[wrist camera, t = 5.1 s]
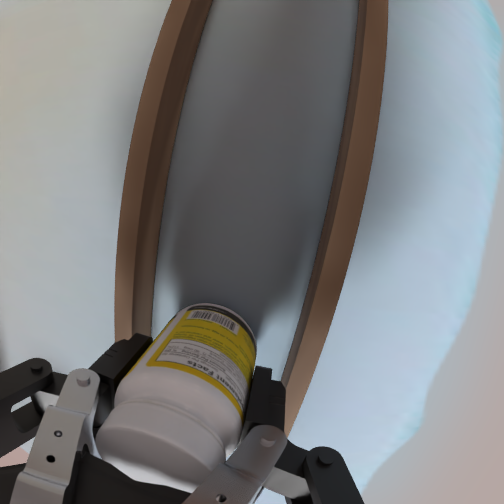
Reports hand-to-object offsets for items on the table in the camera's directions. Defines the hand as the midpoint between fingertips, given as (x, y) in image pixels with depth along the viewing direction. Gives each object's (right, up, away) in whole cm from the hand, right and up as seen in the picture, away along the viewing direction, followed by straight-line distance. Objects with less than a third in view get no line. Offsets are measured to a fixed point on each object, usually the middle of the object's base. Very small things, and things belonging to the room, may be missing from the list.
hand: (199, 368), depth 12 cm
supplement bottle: (0, +1, +3) cm, 3 cm away
